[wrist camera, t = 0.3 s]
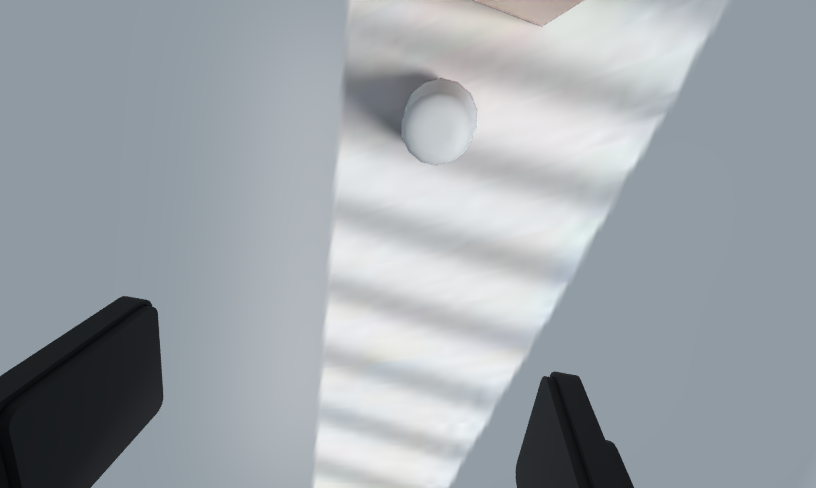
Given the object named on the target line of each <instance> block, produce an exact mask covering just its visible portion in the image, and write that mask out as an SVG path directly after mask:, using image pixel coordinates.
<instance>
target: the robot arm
mask: <svg viewBox="0 0 816 488" xmlns="http://www.w3.org/2000/svg"><path fill="white" fill-rule="evenodd" d="M162 402H163V384H162V369H161V354H160V339H159V326H158V312H157V310H156V308H154V307H152V304H151V303H150V301H148V300H144V299H139V298H133V297H127V296H123V297H120V298H118V299H117V300H115V301H114V302H113V303H111V304H109V305H108V306H106V307H105V308H103V309H102V310H100V311H99V312H97V313H96V314H94V315H93V316H91V317H90V318H88V319H87V320H85V321H84V322H82V323H81V324H79V325H77V326H76V327H74V328H73V329H71V330H70V331H68V332H67V333H65V334H64V335H62V336H61V337H59V338H58V339H56V340H55V341H53V342H52V343H50V344H48V345H47V346H45V347H44V348H42V349H41V350H39V351H38V352H36V353H35V354H33V355H32V356H30V357H29V358H27V359H26V360H24V361H23V362H21V363H20V364H18V365H17V366H15V367H13V368H12V369H10V370H9V371H7V372H6V373H4V374H3V375H1V376H0V488H91V487H92V485H93V484H94V483H95V482H96V481H97V480H98V479H99V477H100V476H101V475H102V474H103V473H104V472H105V471H106V470H107V469H108V467H109V466H110V465H111V464H112V463H113V462H114V461H115V460H116V458H117V457H118V456H119V455H120V454H121V453H122V452H123V451H124V449H125V448H126V447H127V446H128V445H129V444H130V443H131V442H132V441H133V439H134V438H135V437H136V436H137V435H138V434H139V433H140V431H141V430H142V429H143V428H144V427H145V426H146V425H147V424H148V423H149V421H150V420H151V419H152V418H153V417H154V416H155V415H156V414H157V412H158V411H159V409H160V407H161V405H162ZM516 483H517V488H634V486H633V484H632V482H631V480H630V477H629V475H628V473H627V470H626V468H625V466H624V463H623V461H622V459H621V456H620V454H619V453H618V450H617V448H616V446H615V445H614V443H612V442H611V441H608V440H605V438H604V436H603V433H602V431H601V428H600V426H599V423H598V421H597V418H596V416H595V414H594V411H593V409H592V406H591V404H590V401H589V399H588V397H587V394H586V392H585V389H584V387H583V384H582V382H581V380H580V378H579V376H576V375H571V374H565V373H560V372H552V373H551V375H550V377H546V376H544V377H543V378H542V380H541V382H540V386H539V389H538V393H537V396H536V399H535V403H534V406H533V410H532V413H531V416H530V420H529V424H528V427H527V430H526V434H525V437H524V440H523V444H522V447H521V450H520V454H519V457H518V461H517V465H516Z"/></svg>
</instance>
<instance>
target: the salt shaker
mask: <svg viewBox="0 0 816 488" xmlns="http://www.w3.org/2000/svg"><path fill="white" fill-rule="evenodd" d="M476 127H477V107H476V105H475V102H474V100H473V97H472V95H471V93H470V92H469V91H468V90H466V89H465V88H464V87H463V86H462V85H460V84H459V83H458V82H455V81H451V80H447V79H443V78H440V79H436V80H432V81H428V82H425V83H424V84H422V85H421V86H420V87H419V88H417V89H416V90H415V91H414V92H412V93H411V95H410V98H409V100H408V103H407V105H406V107H405V114H404V117H403V119H402V139H403V141H404V143H405V145H406V147H407V149H408V151H409V152H410V153H411V154H412V155H413V156H415V157H416V158H417V159H418V160H419V161H421V162H423V163H428V164H432V165H441V164H446V163H451V162H453V161H454V160H455V159H457V158H458V157H459V156H460V155H462V154H463V153H464V152H465V151H466V149H467V147H468V145H469V143H470V141H471V139H472V136H473V132H474V130H475V129H476Z"/></svg>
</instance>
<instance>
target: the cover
mask: <svg viewBox="0 0 816 488" xmlns="http://www.w3.org/2000/svg"><path fill="white" fill-rule="evenodd" d="M473 1H476V2H479V3H481V4H484V5H487V6H489V7H492V8H495V9H497V10H500V11H502V12H505V13H508V14H510V15H513V16H516V17H518V18H521V19H524V20H526V21H529V22H532V23H534V24H537V25H539V26H542V27H543V26H544V25H546V24H547V23H549V22H550V21H552V20H554V19H555V18H557V17H558V16H560V15H561V14H563V13H565V12H566V11H568V10H569V9H571V8H573V7H574V6H576V5H577V4H579V3H580V2H582V1H584V0H473Z"/></svg>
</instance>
